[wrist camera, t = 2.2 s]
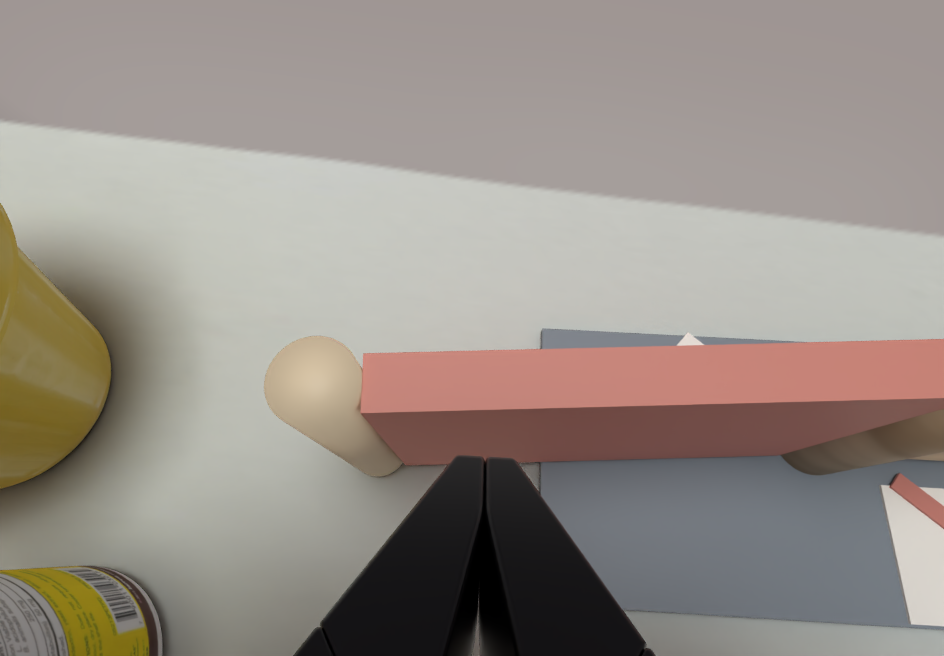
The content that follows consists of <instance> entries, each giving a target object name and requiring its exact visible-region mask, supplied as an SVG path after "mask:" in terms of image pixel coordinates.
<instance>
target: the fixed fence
mask: <svg viewBox="0 0 944 656" xmlns="http://www.w3.org/2000/svg"><path fill="white" fill-rule="evenodd" d="M781 456H782V457H783V459H784V460H785V461H786V462H787V463H788V464H790V465H791V466H792V467H793V468H795V469H797V470H798V471H800V472H803V473H805V474H809V475H826V474H832V473H837V472H842V471H847V470H853V469H858V468H863V467H868V466H874V465H879V464H884V463H889V462H894V461H900V460H905V459H917V460H935V461H944V409H941V410H938V411H934V412H930V413H927V414H923V415H920V416H916V417H913V418H909V419H906V420H902V421H899V422H895V423H892V424H888V425H885V426H881V427H877V428H874V429H870V430H867V431H863V432H860V433H856V434H853V435H849V436H846V437H842V438H839V439H835V440H831V441H828V442H824V443H821V444H817V445H814V446H810V447H807V448H803V449H800V450H796V451H793V452H789V453H786V454H782V455H781Z"/></svg>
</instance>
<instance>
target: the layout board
mask: <svg viewBox="0 0 944 656" xmlns="http://www.w3.org/2000/svg"><path fill="white" fill-rule="evenodd" d="M766 343H806V342H793V341H774V340H754V339H735V338H716V337H696V336H692V335H691V334H690V333H687V334H686V335H685V336H677V335H658V334H639V333H619V332H600V331H581V330H562V329H542V332H541V349H565V348H605V347H646V346H686V345H726V344H766ZM540 495H541V496H542V498H543V499H544V500H545V502H546V503H547V505H548V506H549V507H550V509H551V510H552V512H553V513H554V514H555V516H556V517H557V519H558V520H559V521H560V523H561V524H562V526H563V527H564V528H565V530H566V531H567V533H568V534H569V535H570V537H571V538H572V540H573V541H574V542H575V544H576V545H577V547H578V548H579V550H580V551H581V552H582V554H583V555H584V557H585V558H586V559H587V561H588V562H589V564H590V565H591V566H592V568H593V569H594V571H595V572H596V573H597V575H598V576H599V578H600V579H601V580H602V582H603V583H604V585H605V586H606V587H607V589H608V590H609V592H610V593H611V594H612V596H613V597H614V599H615V600H616V601H617V603H618V604H619V606H620V607H621V608H622V610H637V611H653V612H669V613H685V614H701V615H716V616H732V617H748V618H764V619H780V620H796V621H812V622H828V623H843V624H859V625H875V626H891V627H907V628H923V629H939V630H944V461H935V460H917V459H905V460H900V461H894V462H889V463H884V464H879V465H874V466H868V467H863V468H858V469H853V470H847V471H842V472H837V473H832V474H826V475H809V474H805V473H803V472H800V471H798V470H797V469H795V468H793V467H792V466H791V465H790V464H788V463H787V462H786V461H785V460H784V459H783V457H782V456H781V455H777V456H740V457H702V458H665V459H628V460H590V461H553V462H540Z"/></svg>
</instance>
